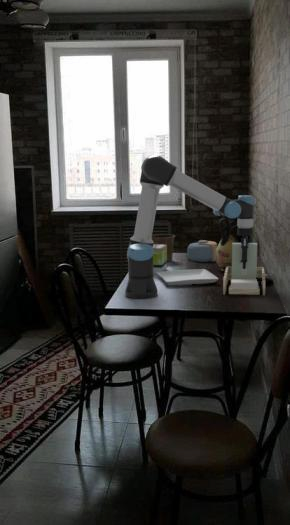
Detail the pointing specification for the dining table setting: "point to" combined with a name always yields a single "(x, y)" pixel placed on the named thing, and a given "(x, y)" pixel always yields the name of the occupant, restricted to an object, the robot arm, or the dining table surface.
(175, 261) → the dining table surface
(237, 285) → the upper offcut
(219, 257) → the ceramic jug
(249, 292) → the lower offcut
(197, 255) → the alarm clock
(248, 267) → the tall panel
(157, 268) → the tea box
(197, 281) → the square plate
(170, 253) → the plant pot
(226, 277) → the frame
